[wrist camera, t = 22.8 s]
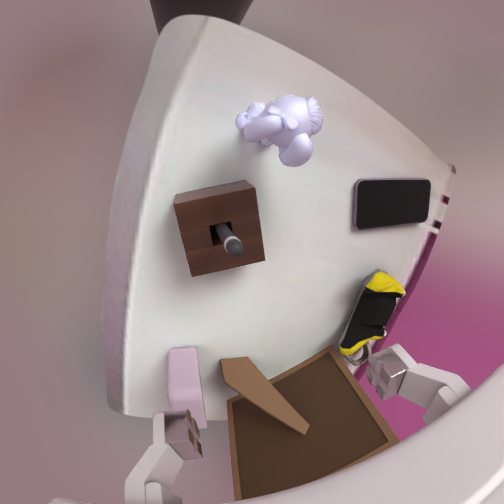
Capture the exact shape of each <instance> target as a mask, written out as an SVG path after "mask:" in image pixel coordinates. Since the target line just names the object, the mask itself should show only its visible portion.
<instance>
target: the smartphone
mask: <svg viewBox="0 0 504 504" xmlns="http://www.w3.org/2000/svg"><path fill="white" fill-rule="evenodd" d="M430 191H431V183H430V181H429V180H428V179H424V178H380V179H359V180H358V181H356V183H355V186H354V211H353V225H354V227H355V228H357V229H358V230H366V229H373V228H381V227H389V226H397V225H406V224H414V223H422V222H425V221H426V220H427V217H428V211H429V202H430Z"/></svg>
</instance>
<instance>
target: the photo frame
mask: <svg viewBox="0 0 504 504" xmlns="http://www.w3.org/2000/svg"><path fill="white" fill-rule="evenodd" d="M221 366H222V371H223V375H224V380H225V384H227V385H228V386H229V387H231V388H232V389H233V390H235V391H236V392H238V393H239V394H240V395H238V396H236V397H233V398H231V399H229V400H227V411H228V426H229V440H230V452H231V465H232V476H233V487H234V497H235V501H239V500H245V499H250V498H255V497H259V496H264V495H268V494H272V493H276V492H280V491H283V490H287V489H290V488H294V487H297V486H300V485H304V484H307V483H310V482H313V481H315V480H318V479H321V478H324V477H327V476H329V475H332V474H334V473H337V472H339V471H342V470H344V469H347V468H349V467H351V466H353V465H356V464H358V463H360V462H362V461H364V460H367V459H369V458H371V457H373V456H375V455H377V454H379V453H381V452H383V451H384V450H386V449H388V448H390V447H392V446H394V445H396V444H397V443H399V442H400V441H399V439H398V438H397V436H396V435H395V434H394V432H393V431H392V429H391V428H390V427H389V425H388V424H387V422H386V421H385V419H384V418H383V417H382V415H381V414H380V413H379V411H378V410H377V408H376V407H375V405H374V404H373V403H372V401H371V400H370V398H369V397H368V395H367V394H366V393H365V391H364V390H363V389H362V387H361V386H360V384H359V383H358V381H357V380H356V379H355V377H354V376H353V374H352V373H351V372H350V370H349V369H348V367H347V366H346V365H345V363H344V362H343V360H342V359H341V358H340V356H339V355H338V354H337V352H336V351H335V349H334V348H333V347H332V345H331V346H330V347H328V348H326V349H325V350H323V351H321V352H320V353H318V354H316V355H315V356H313V357H311V358H309V359H308V360H306V361H304V362H302V363H301V364H299V365H297V366H295V367H293V368H292V369H290V370H288V371H286V372H284V373H282V374H280V375H278V376H277V377H275V378H273V379H271V380H269V381H268V380H267V379H266V378H265V376H264V375H263V374H262V373H261V372H260V371H259V370H258V368H257V367H256V366H255V365H254V364H253V363H252V362H251V360H250V359H249V358H248V357H243V358H232V359H221Z"/></svg>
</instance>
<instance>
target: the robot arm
mask: <svg viewBox="0 0 504 504" xmlns="http://www.w3.org/2000/svg"><path fill="white" fill-rule="evenodd" d="M368 361H369V363H370V364H369V365H368V366H367V369H366V375H367V378H368V381H369V382H370V383H371V385H373V386H376V392H377V393H378V395H379V396H380V397H381V399H382V401H384V400H386V399H387V398H390V397H392V396H394V395H396V394H397V395H399V396H401V397H403V398H405V399H407V400H409V401H411V402H413V403H415V404H417V405H420V406H422V407H424V408H426V409H427V411H426V412H425V414H424V416H423V421H424V422H425V423H426V425H427V426H425V427H424V428H422V429H421V430H419V431H417V432H416V433H414V434H413V435H411V436H409V437H408V438H406V439H404V440H403V441H401V442H399V443H397V444H396V445H394V446H392V447H390V448H388V449H386V450H384V451H383V452H381V453H379V454H377V455H375V456H373V457H371V458H369V459H367V460H364V461H362V462H360V463H358V464H356V465H353V466H351V467H349V468H347V469H344V470H342V471H339V472H337V473H334V474H332V475H329V476H327V477H324V478H321V479H318V480H315V481H313V482H310V483H307V484H304V485H300V486H297V487H294V488H290V489H287V490H283V491H280V492H276V493H272V494H268V495H264V496H259V497H255V498H250V499H245V500H239V501H234V502H227V503H220V504H504V363H503V364H502V365H501V366H500V367H499V368H498V369H497V370H496V371H495V372H493V374H491V375H490V376H489V377H488V378H487V379H486V380H485V381H484V382H483V383H482V384H481V385H479V386H478V387H477V388H476V389H475V390H472V389H471V388H470V387H469V386H468V385H467V384H466V383H465V382H464V381H463V379H462V378H461V377H460V376H459V375H456V374H453V373H450V372H447V371H443V370H440V369H437V368H434V367H431V366H428V365H424V364H421V363H419V364H417V363H416V362H415V361H414V360H413V359H412V358H411V356H410V355H409V354H408V353H407V352H406V351H405V350H404V349H403V348H402V347H401V346H400V345H399V344H394V345H392V346H391V347H388V348H385V349H383V350H381V351H379V352H377V353H374V354H372V355H370V357H369V359H368ZM199 437H200V436H199V430H198V426H197V423H196V421H195V419H194V418H193V417H191V412H190V411H189V409H183V410H176V411H168V412H159V413H154V414H153V445H149V447H148V448H147V450H146V451H145V453H144V454H143V456H142V457H141V459H140V460H139V461H138V463H137V464H136V466H135V467H134V469H133V470H132V472H131V473H130V475H129V476H128V477H127V479H126V480H125V504H182V499H181V498H180V497H178V496H177V495H175V494H174V493H172V492H171V491H170V490H171V488H172V485H173V484H174V482H175V480H176V477H177V475H178V473H179V471H180V469H181V467H182V465H183V463H184V460H189V459H196V458H202V457H203V456H202V450H201V444H200V443H199V442H198V438H199ZM49 504H92V503H86V502H80V501H74V500H70V499H65V498H55V499H53V500H52V501H51V502H50V503H49Z"/></svg>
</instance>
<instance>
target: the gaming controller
mask: <svg viewBox="0 0 504 504" xmlns="http://www.w3.org/2000/svg"><path fill="white" fill-rule="evenodd" d="M405 294H406V293H405V290H403V288H402V286H401V285H400V284H399V283H398V282H397V281H396V280H395V279H394V278H393V277H391V276H390V275H389V274H387V273H386V272H384V271H381V270H379V269H377V270H376V271H374V272H373V273H371V274H370V275H369V276H367V277H366V278H365V280H364V281H363V286H362V289H361V291H360V294H359V297H358V299H357V302H356V304H355V307H354V309H353V311H352V314H351V316H350V318H349V320H348V323H347V325H346V328H345V330H344V332H343V333H342V335H341V337H340V339H339V342H338V345H337V346H338V350H339V352H340V353H341V354H342V355H345V356H347V355H351V354H353V353H354V352H356V351H357V350H358V349H359V348H360V347H361V346H362V345H364V344H365V343H366V342H367V341H369V340H373V339H381V338H382V337H384V336H386V331H385V330H384V328H383V326H386V325H387V323H388V321H389V319H390V316H391V314H392V312H393V310H394V308H395V306H396V298H401V297H403V296H404V295H405Z"/></svg>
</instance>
